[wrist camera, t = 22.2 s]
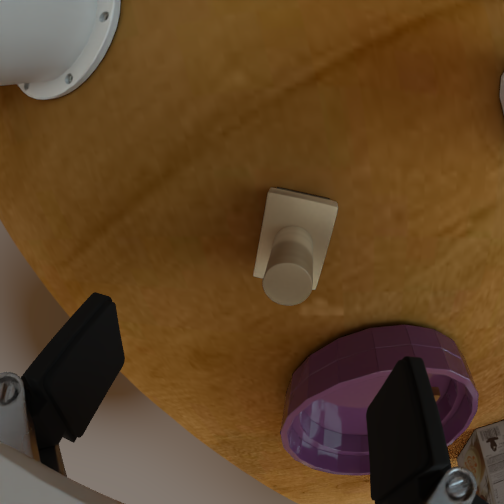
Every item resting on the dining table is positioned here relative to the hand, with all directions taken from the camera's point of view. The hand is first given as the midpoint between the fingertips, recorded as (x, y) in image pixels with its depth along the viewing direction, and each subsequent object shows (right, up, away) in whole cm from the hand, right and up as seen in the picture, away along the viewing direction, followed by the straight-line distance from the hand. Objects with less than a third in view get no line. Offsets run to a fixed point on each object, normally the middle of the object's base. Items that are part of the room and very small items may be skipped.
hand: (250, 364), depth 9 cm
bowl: (+13, -10, +18) cm, 24 cm away
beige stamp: (+3, +5, +12) cm, 13 cm away
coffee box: (+34, -24, +20) cm, 46 cm away
